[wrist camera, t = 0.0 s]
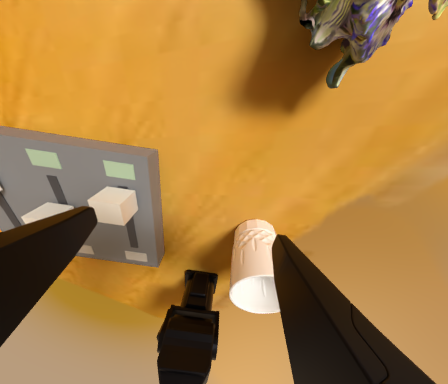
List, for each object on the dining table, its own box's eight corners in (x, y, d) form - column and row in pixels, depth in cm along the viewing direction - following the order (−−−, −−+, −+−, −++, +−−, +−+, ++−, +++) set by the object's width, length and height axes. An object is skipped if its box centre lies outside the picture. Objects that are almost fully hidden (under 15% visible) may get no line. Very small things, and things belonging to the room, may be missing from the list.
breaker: (138, 209, 22) (124, 225, 19) (112, 205, 22) (94, 221, 19) (135, 190, 21) (119, 204, 18) (107, 186, 21) (87, 200, 18)
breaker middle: (79, 222, 24) (59, 239, 21) (55, 219, 24) (32, 235, 21) (73, 206, 23) (50, 221, 20) (47, 202, 22) (20, 216, 20)
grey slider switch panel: (164, 253, 31) (157, 267, 29) (32, 234, 31) (12, 247, 28) (157, 149, 21) (146, 157, 19) (-38, 120, 21) (-78, 123, 18)
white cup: (262, 255, 30) (274, 319, 22) (223, 241, 29) (218, 302, 20) (288, 226, 26) (314, 289, 18) (244, 208, 25) (249, 266, 17)
